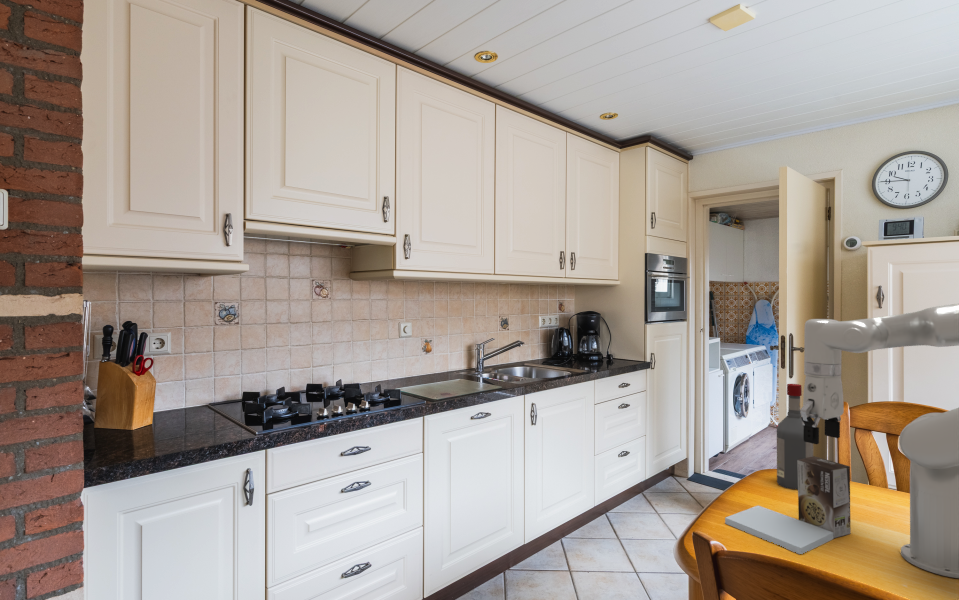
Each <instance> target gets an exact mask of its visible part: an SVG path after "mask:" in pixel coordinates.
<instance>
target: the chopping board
mask: <svg viewBox="0 0 959 600" xmlns="http://www.w3.org/2000/svg"><path fill="white" fill-rule="evenodd" d="M724 524H725V525H728V526H730V527H733V528H734V529H738V530H740V531H742V532H744V531H745V533H747V534H749V535H752V536H754V537H757V538H759V539H761V538H762V539H761V540H764V541H766V540H767V542H769V543H771V542H773V543H774V545H776V544H777V545H776V546H778V545H780V546H779V547H781V546H782V547H781V548H783V547H784V548H783V549H785V548H786V550H788V551H791V552H793V553H795V552H796V553H795V554H798V555H800V554H802V555H804V554H806V553H808V552H810V551H811V550H813V549H815V548H817V547H820V546H822V545H824V544H826V543H828V542H830V541H832V540H834V539H835V538H834V532H831V531H828V530H825V529H822V528H820V527H817V526H814V525H811V524H809V523H806V522H803V521H800V520H799V519H797V518H794V517H793V516H792V517H791V516H789V515H786V514H783V513H781V512H777V511H775V510H772V509H769V508H766V507H764V506H761V505H755V506H753V507H750V508H748V509H744V510H742V511H739V512H737V513H734V514H731V515H729V516H726V517H725V518H724ZM773 543H772V544H773ZM807 551H808V552H807ZM805 552H806V553H805ZM803 553H804V554H803Z"/></svg>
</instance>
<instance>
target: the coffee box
mask: <svg viewBox="0 0 959 600" xmlns="http://www.w3.org/2000/svg"><path fill="white" fill-rule="evenodd" d="M797 466H798V490H797V498H798V499H797V500H798V501H797V503H798V504H797V507H798V509H797V510H798V511H797V512H798V520H800V521H803V522H806V523H809V524H811V525H814V526H817V527H820V528H822V529H825V530H828V531H831V532H834V539H835V538H839V537H843V536H847V535H850V534H851V531H852V530H851V529H852V527H851V466H850V465H846V464H843V463H840V462H836V461H833V460H830V459H829V460H828V459H825V458H822V457H818V456H814V455H813V456H812V457H807V458H804V459H799V460H797Z"/></svg>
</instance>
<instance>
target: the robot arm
mask: <svg viewBox="0 0 959 600" xmlns="http://www.w3.org/2000/svg"><path fill="white" fill-rule="evenodd" d="M803 336H804V339H803V340H804V343H803V344H804V350H803V351H804V352H803V354H804V360H803V374H804V376H805V379H804V384H803V386H804V387H803V394H802V395H803V396H802V397H803V399H802V400H803V401H802V402H803V403H802V407H800V413H801V418H802V421H803V425H804V441H805V442H809V443H813V445H819V443H820V427H819V426H818V425H819V423H820V420H821V419H822V420H824V435H825V436H826V437H830V438H836V439H839V438H840V437H841V421H842V420H841V419H842V418H841V416H842V415H843V414H845V413H844V411H845V410H844V406H845V405H844V390H843V383H842V357H843V355H842V351H843V352H849V353H854V354H861V353H862V354H863V353H866V352H867V353H868V352H871V351H874V350H885V349H894V348H902V347H903V348H905V347H916V346H917V347H918V346H926V347H928V346H929V347H930V346H931V347H937V348H939V347H940V348H941V347H957V346H959V303H954V304H945V305H937V306H931V307H928V308H925V309H921V310H918V311H913V312H907V313H900V314H893V315H885V316H878V317H871V318H870V317H869V318H860V319H853V320H842V321H839V320H837V319H831V318H829V319H828V318H811V319H810V318H809V319H808V320H806V321H805V323H804V335H803ZM898 443H899V446H900V449H901V452H902V454H903V455H904V457H905V458H907V459H908V460H909V461H910V464H909V465H910V467H909V543H906V544H904V545H902V546H901V547H900V555H901V557H902V558H903V559H904V560H906V561H907V562H908V563H910V564H912V565H913V566H914V567H916V568H919V569H922V570H924V571H926V572H930V573H933V574H936V575H939V576H943V577H949V578H953V579H954V578H955V579H959V407H957V408H954V409H950V410H947V411H945V412H929V413H926V414H922V415H920V416H918V417H917V418H915V419H913V420H912V421H911V422H909V423H908V424H906V426H905V427H904V428H903V429H902V431H901V432H900V434H899V439H898Z"/></svg>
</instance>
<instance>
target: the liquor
mask: <svg viewBox="0 0 959 600" xmlns="http://www.w3.org/2000/svg"><path fill="white" fill-rule="evenodd" d="M802 392H803V391H802V385H801V384H799V383H787V385H786V395H788V407H787V408H788V409H787V415H786V416H785V418H783V419H782V420H781V421H780V422H779V423H778V424H777V425H776V426H777V427H776V482H777V485H778V486H780V487H783V488H785V489H790V490H795V489H797V490H796V491H798V466H797V460H799V459H804V458H807V457H812V456H814V444H813V443H809V442H805V441H804V425H803V421H802V418H801V417H802V416H801V412H800V410H801V396H802V395H803V393H802ZM802 397H803V396H802Z"/></svg>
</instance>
